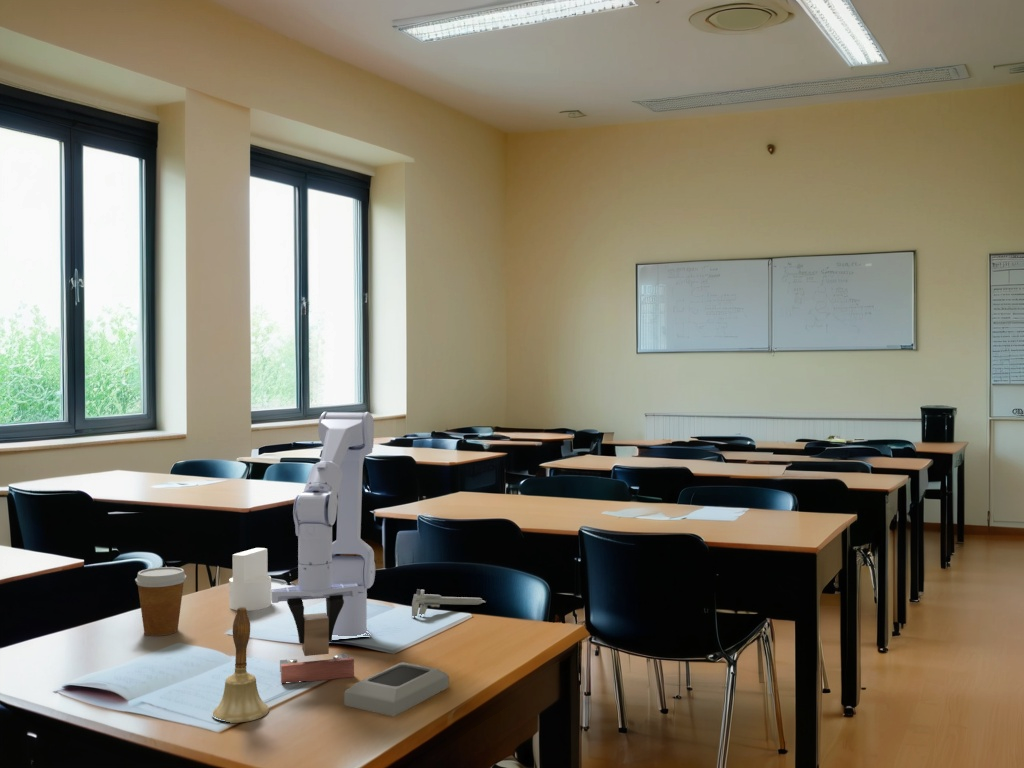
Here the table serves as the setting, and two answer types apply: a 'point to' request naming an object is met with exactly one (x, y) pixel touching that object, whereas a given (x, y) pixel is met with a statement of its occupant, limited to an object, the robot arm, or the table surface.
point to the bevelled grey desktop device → (396, 688)
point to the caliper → (438, 601)
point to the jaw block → (316, 634)
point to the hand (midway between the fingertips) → (315, 640)
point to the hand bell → (241, 681)
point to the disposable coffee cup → (160, 599)
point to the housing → (317, 669)
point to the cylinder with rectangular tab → (250, 580)
